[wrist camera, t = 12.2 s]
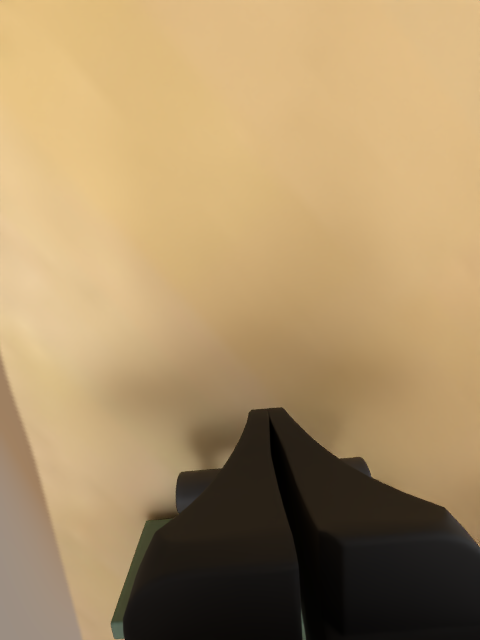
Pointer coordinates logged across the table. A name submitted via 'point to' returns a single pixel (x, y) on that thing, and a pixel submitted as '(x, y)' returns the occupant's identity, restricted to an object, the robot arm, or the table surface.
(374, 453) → the table surface
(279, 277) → the table surface
